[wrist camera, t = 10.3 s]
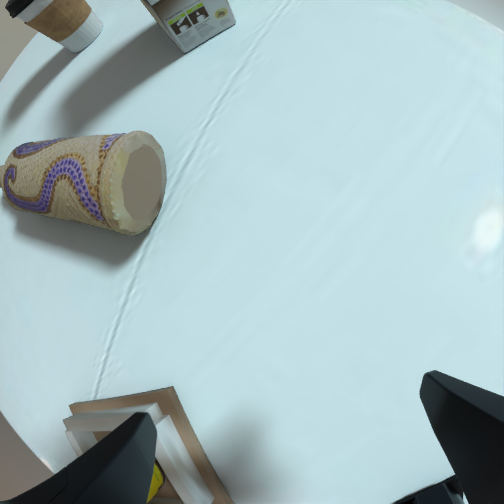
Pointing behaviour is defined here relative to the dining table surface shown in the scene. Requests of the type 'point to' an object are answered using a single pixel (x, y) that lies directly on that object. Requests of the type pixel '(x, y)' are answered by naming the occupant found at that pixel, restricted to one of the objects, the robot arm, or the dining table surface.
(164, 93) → the dining table surface
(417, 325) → the dining table surface
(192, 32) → the coffee box
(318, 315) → the dining table surface
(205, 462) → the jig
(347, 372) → the dining table surface
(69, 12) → the coffee cup
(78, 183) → the decorative bottle
